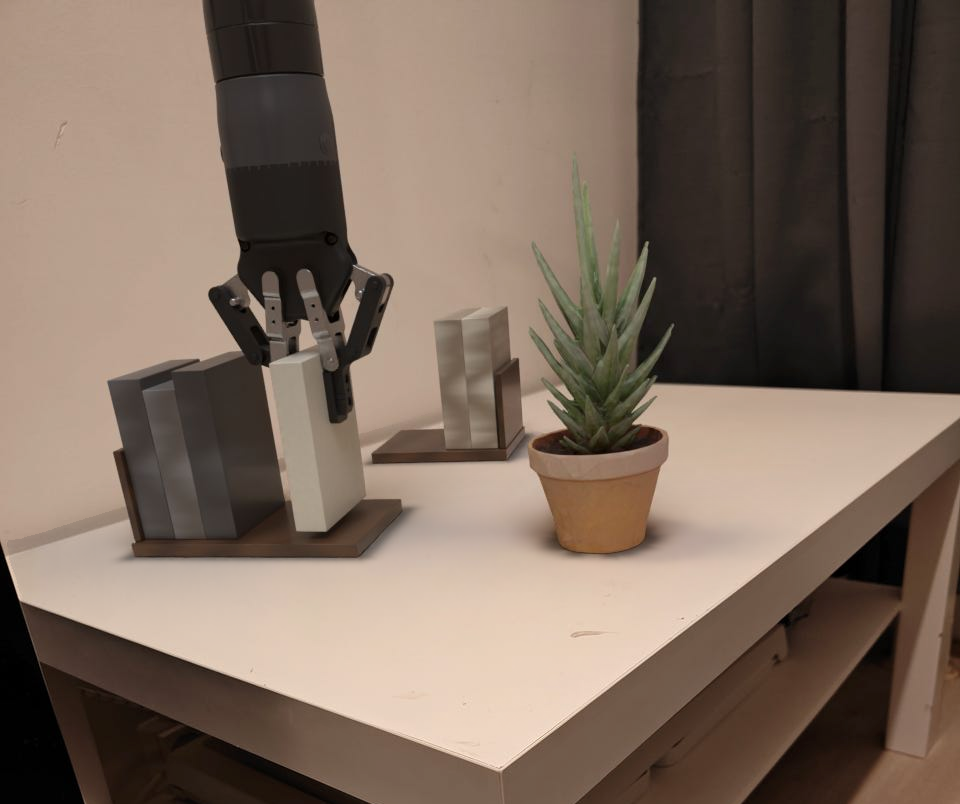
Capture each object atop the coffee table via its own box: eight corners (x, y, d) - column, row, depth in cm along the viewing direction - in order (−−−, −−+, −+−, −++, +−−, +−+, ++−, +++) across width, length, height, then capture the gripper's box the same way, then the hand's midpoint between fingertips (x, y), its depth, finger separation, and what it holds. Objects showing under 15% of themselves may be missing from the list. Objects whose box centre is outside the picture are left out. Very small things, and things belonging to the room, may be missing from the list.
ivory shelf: (372, 463, 92) (354, 325, 87) (401, 439, 101) (387, 312, 96) (506, 460, 89) (497, 317, 84) (525, 435, 98) (517, 304, 92)
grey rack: (134, 556, 71) (89, 377, 66) (202, 512, 81) (169, 353, 75) (358, 557, 67) (331, 365, 62) (402, 510, 77) (382, 341, 71)
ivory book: (296, 531, 68) (268, 363, 63) (339, 496, 76) (317, 343, 71) (326, 531, 68) (301, 362, 63) (366, 495, 76) (347, 342, 71)
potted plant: (565, 514, 72) (550, 157, 62) (685, 523, 68) (690, 142, 58) (507, 557, 65) (479, 157, 54) (639, 571, 60) (636, 140, 50)
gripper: (398, 152, 64) (423, 408, 71) (213, 170, 67) (255, 413, 74) (362, 148, 57) (393, 431, 64) (158, 168, 60) (210, 436, 67)
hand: (319, 421), depth 69 cm, fingers closed on ivory book, 2 cm apart
